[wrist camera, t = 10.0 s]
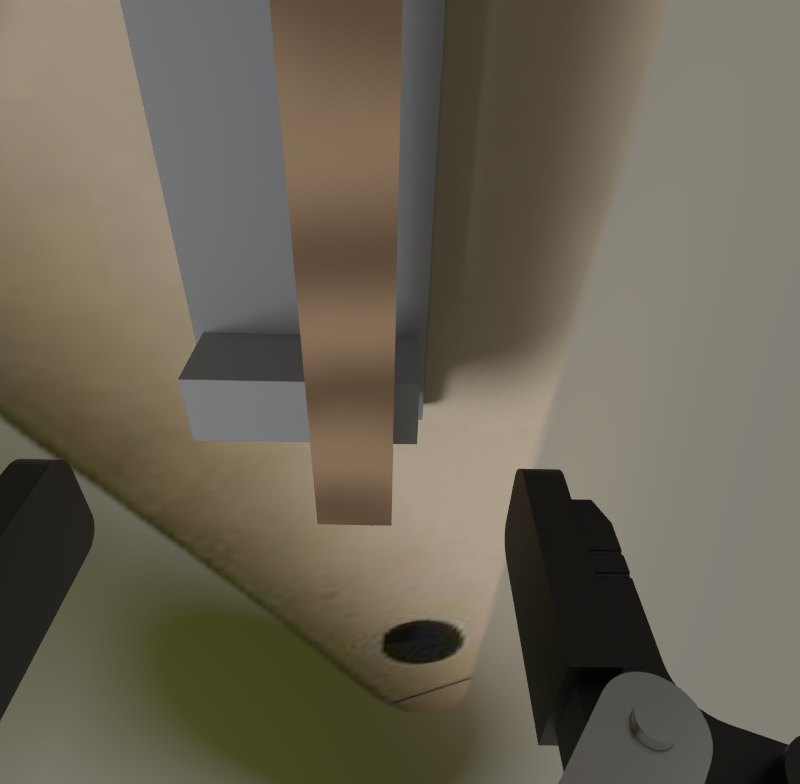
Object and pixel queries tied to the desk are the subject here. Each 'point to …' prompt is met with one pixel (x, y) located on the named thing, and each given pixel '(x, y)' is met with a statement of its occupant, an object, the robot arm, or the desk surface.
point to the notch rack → (267, 209)
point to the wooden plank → (344, 237)
